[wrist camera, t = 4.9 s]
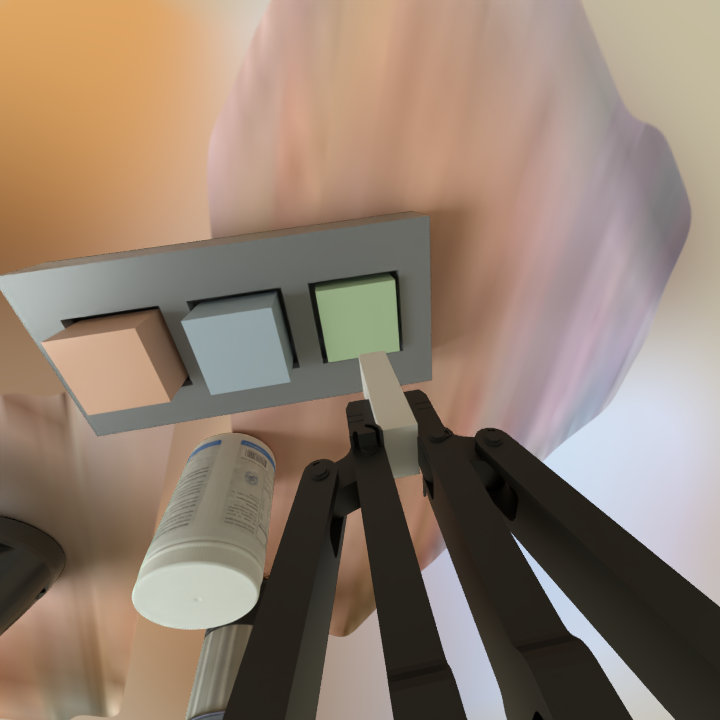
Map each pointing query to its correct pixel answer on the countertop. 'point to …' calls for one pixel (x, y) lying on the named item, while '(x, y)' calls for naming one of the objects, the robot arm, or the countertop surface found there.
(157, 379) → the terracotta button
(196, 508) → the supplement tub
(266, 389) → the console
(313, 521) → the robot arm
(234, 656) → the milk frother
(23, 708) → the countertop surface
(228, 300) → the slate button
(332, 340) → the green button
